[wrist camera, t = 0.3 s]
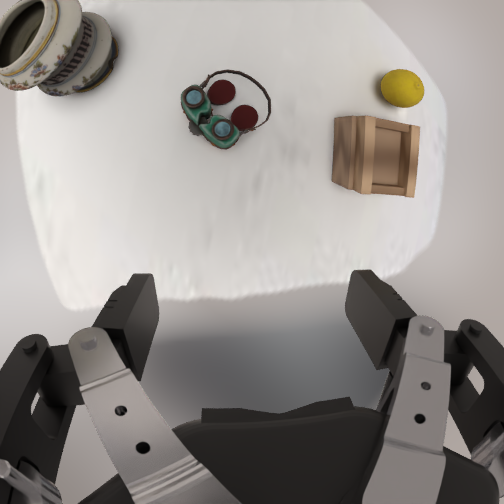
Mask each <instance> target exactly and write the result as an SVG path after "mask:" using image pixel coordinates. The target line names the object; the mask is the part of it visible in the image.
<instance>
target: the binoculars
mask: <svg viewBox="0 0 504 504" xmlns="http://www.w3.org/2000/svg"><path fill="white" fill-rule="evenodd" d="M222 73H233V74H239V75H241V76H243V77H245V78H248V79H249V80H251V81H252V82H253V83H255V84H256V85H257V86H258V87H259V88H260V89H261V90H262V91H263V93H264V95H265V96H266V98H267V100H268V115H267V118H266V120H265V121H264V122H263V123H262V124H264V123H265V122H266V121H268V119H269V116H270V114H271V99H270V97H269V95H268V94H267V92H266V90H265V88H264V87H263V86H262V85H260V84H259V83H258V82H257V81H256V80H255V79H253V78H252V77H250V76H249V75H247V74H244V73H242V72H240V71H234V70H222V71H217V72H215V73H213V74H212V75H210V76H209V75H208V78H207V79H206V80H205V81H204V82H203V83H202V84H201V85H200V86H198V85H192V86H190V87H188V88H187V89H185V90H184V91H183V92H182V94H181V106H182V109H183V110H184V111H183V113H185V114H186V116H187V118H188V120H189V121H190V122H189V129H190V132H192V133H193V135H197V136H199V135H203V136H204V137H205V138H206V140H207V141H209V142H210V143H211V144H212V145H213V146H216V147H217V148H220V149H226V150H227V149H229V148H230V147H232V146H233V145H235V143H236V142H237V141H238V139H239V136H241V135H242V134H245V133H247V132H249V131H253V130H256V129H254V128H257V127H259V126H261V125H262V124H260V125H259V126H256V127H254V126H255V124H256V123H257V121H258V114H257V111H256V110H255V109H254V108H253V107H251V106H249V105H241V106H239V107H237V108H236V109H235V110H234V111H233V113H232V116H231V121H230V120H228V119H226V118H225V117H223V116H221V115H214V116H213V114H212V111H213V109H212V108H211V104H214V105H223V104H226V103H228V102H230V101H231V100H232V99H233V98H234V96H235V92H236V91H235V87H234V85H233V84H232V83H231V82H229V81H227V80H218V81H216V82H215V83H213V84H212V86H211V87H210V88H209V90H208V94H207V95H206V94H205V92H204V91H203V90H202V89H203V88H204V87H206V86H207V84H208V82H209V80H210V78H212V77H213V76H215V75H217V74H222ZM201 87H202V88H201ZM210 116H212V117H211V119H210V123H208V121H207V119H209V118H210ZM253 127H254V128H253ZM248 130H249V131H248ZM239 131H243V132H241V133H240V132H239Z"/></svg>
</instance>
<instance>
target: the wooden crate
mask: <svg viewBox="0 0 504 504" xmlns="http://www.w3.org/2000/svg"><path fill="white" fill-rule="evenodd" d="M419 136H420V127H419V126H415V125H408V124H403V123H399V122H394V121H389V120H384V119H379V118H376V117H371V116H346V117H338V118H335V120H334V151H333V170H332V182H334V183H336V184H338V185H340V186H342V187H344V188H346V189H350V190H354V191H356V192H358V193H360V194H371V193H372V194H387V195H400V196H405V197H413V198H414V194H415V186H416V177H417V166H418V154H419Z"/></svg>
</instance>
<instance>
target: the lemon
mask: <svg viewBox="0 0 504 504" xmlns="http://www.w3.org/2000/svg"><path fill="white" fill-rule="evenodd" d="M381 92H382V94H383V96H384V98H385V99H386V100H387V101H388V102H389V103H390V104H392V105H394V106H397V107H402V108H407V107H412V106H414V105H416V104H418V103H419V102H420V101H421V100H422V98H423V96H424V86H423V83H422V81H421V80H420V78H419V77H418V76H417V75H416V74H414V73H413V72H411V71H408V70H403V69H397V70H392V71H390V72H389V73H387V74H386V75H385V76H384V77H383V79H382V81H381Z"/></svg>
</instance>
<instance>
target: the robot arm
mask: <svg viewBox="0 0 504 504" xmlns="http://www.w3.org/2000/svg"><path fill="white" fill-rule="evenodd" d="M345 312H346V316H347V318H348V320H349V321H350V323H351V325H352V327H353V328H354V330H355V332H356V334H357V335H358V337H359V339H360V341H361V342H362V344H363V346H364V348H365V350H366V351H367V353H368V355H369V357H370V359H371V360H372V362H373V364H374V366H375V368H376V370H380V369H385V368H389V370H390V371H389V373H388V375H387V378H386V382H385V384H384V387H383V391H382V394H381V397H380V400H379V403H378V405H377V408H376V410H373V409H369V408H364V407H356V406H353V404H352V401H351V399H350V397H345V398H339V399H333V400H327V401H319V402H315V403H312V404H309V405H306V406H303V407H300V408H297V409H294V410H291V411H288V412H285V413H280V414H277V413H268V412H261V411H254V410H248V409H242V408H230V409H229V408H224V409H213V408H212V409H211V408H210V409H209V408H206V409H205V408H202V417H201V419H198V420H193V421H190V422H186V423H184V424H182V425H179V426H177V427H175V428H173V429H171V428H170V427H169V426H168V425H167V423H166V422H165V420H164V419H163V418H162V416H161V415H160V414H159V412H158V411H157V409H156V408H155V407H154V405H153V404H152V402H151V401H150V399H149V398H148V396H147V395H146V393H145V392H144V390H143V389H142V387H141V386H140V384H139V383H138V381H141V378H142V374H143V371H144V367H145V364H146V360H147V357H148V354H149V350H150V347H151V344H152V340H153V337H154V334H155V331H156V328H157V325H158V321H159V306H158V300H157V295H156V289H155V282H154V277H153V275H152V274H133V275H132V277H131V278H130V280H129V282H128V283H127V285H126V286H120V287H119V288H118V289H116V290H115V291H114V292H113V293H112V294H111V296H110V297H109V299H108V301H107V302H106V304H105V305H104V308H103V309H102V310H101V312H100V314H99V315H98V317H97V319H96V320H95V322H94V324H93V326H92V327H89V328H85V329H82V330H80V331H78V332H76V333H75V334H74V335H73V336H72V337H71V338H70V340H69V343H68V344H66V345H58V346H50V345H49V343H48V341H47V339H46V338H45V337H44V336H43V335H39V334H32V335H29V336H26V337H24V338H23V339H21V340H20V341H19V342H18V343H17V344H16V346H15V347H14V349H13V351H12V352H11V354H10V355H9V357H8V358H7V360H6V362H5V363H4V365H3V367H2V368H1V370H0V504H63V503H62V498H61V494H60V492H59V490H58V489H57V487H56V486H55V481H56V477H57V472H58V468H59V464H60V459H61V456H62V452H63V448H64V444H65V441H66V437H67V433H68V430H69V427H70V424H71V420H72V417H73V414H74V411H75V408H76V405H83V404H85V405H86V407H87V410H88V412H89V414H90V417H91V419H92V421H93V423H94V426H95V428H96V430H97V432H98V435H99V437H100V439H101V441H102V443H103V445H104V447H105V449H106V451H107V453H108V455H109V457H110V458H111V460H112V462H113V464H114V466H115V468H116V469H117V471H118V474H116V475H115V476H114V477H113V478H111V479H110V480H109V481H107V482H106V483H105V484H103V485H102V486H101V487H100V488H98V489H97V490H96V491H94V492H93V493H92V494H90V495H89V496H88V497H86V498H85V499H83V500H82V501H81V502H80V503H78V504H499V498H501V497H503V496H504V348H503V346H502V345H501V344H500V343H499V342H498V340H497V339H496V338H495V337H494V336H493V335H492V334H491V332H490V331H489V330H488V329H487V328H486V327H485V326H484V325H482V324H481V323H480V322H478V321H475V320H471V319H466V320H463V321H462V322H461V324H460V326H459V328H458V330H457V331H449V330H444V328H443V326H442V325H441V324H440V323H439V322H438V321H437V320H435V319H433V318H431V317H428V316H417V314H416V313H415V312H414V311H413V310H412V309H411V308H410V307H409V305H408V304H407V303H406V302H405V301H404V300H402V297H401V296H400V295H399V294H397V292H396V291H395V290H394V289H393V288H392V286H390V285H388V284H387V283H385V282H383V281H382V280H380V279H379V278H378V277H377V276H376V275H375V273H374V272H373V271H372V270H354V271H353V272H352V274H351V277H350V282H349V288H348V293H347V297H346V302H345ZM473 366H475V367H476V369H477V370H478V372H479V373H480V374H481V376H482V377H483V379H484V389H483V391H482V393H481V394H480V395H479V394H478V392H477V391H476V389H475V388H474V386H473V384H472V383H471V381H470V380H469V379H468V377H467V376H468V374H469V373H470V371H471V370H472V368H473ZM37 392H38V394H39V395H40V397H39V399H38V402H37V404H36V406H35V409H34V411H33V414H32V415H31V404H32V402H33V400H34V397H35V395H36V393H37ZM448 410H449V412H450V414H451V416H452V417H453V420H454V421H455V423H456V425H457V427H458V429H459V431H460V433H461V435H462V437H463V439H464V441H465V443H466V445H467V447H468V450H469V451H470V453H471V460H470V459H468V458H466V457H464V456H462V455H460V454H458V453H456V452H454V451H452V450H450V449H448V448H446V447H444V446H443V443H444V437H445V430H446V423H447V415H448Z"/></svg>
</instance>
